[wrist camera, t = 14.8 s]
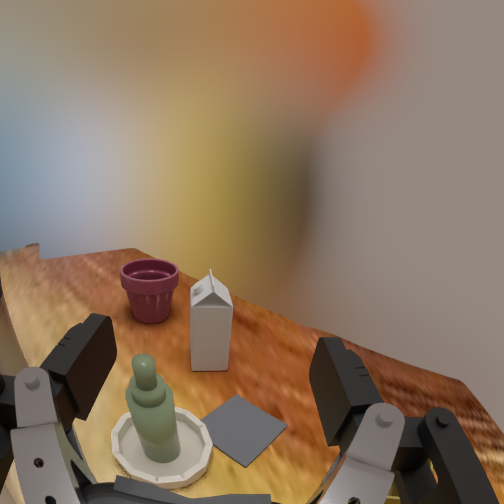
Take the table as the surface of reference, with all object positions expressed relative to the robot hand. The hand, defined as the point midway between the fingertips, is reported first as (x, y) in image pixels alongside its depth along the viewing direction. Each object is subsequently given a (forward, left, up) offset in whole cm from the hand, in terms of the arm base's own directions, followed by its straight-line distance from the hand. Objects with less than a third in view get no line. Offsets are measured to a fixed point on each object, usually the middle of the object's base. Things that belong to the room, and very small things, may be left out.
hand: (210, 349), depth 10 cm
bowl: (+5, +14, -32) cm, 35 cm away
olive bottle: (+4, +14, -31) cm, 34 cm away
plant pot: (+27, +47, -32) cm, 63 cm away
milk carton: (+26, +25, -32) cm, 48 cm away
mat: (+17, +9, -32) cm, 37 cm away
